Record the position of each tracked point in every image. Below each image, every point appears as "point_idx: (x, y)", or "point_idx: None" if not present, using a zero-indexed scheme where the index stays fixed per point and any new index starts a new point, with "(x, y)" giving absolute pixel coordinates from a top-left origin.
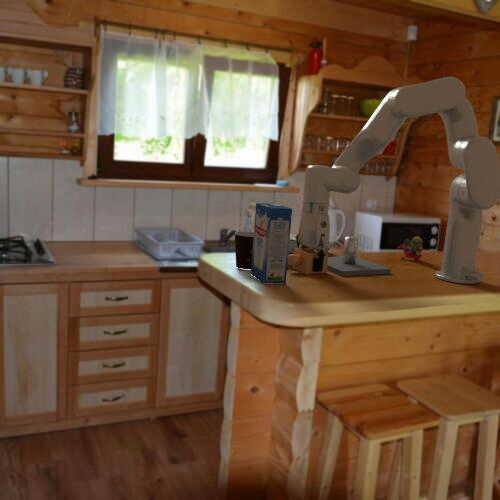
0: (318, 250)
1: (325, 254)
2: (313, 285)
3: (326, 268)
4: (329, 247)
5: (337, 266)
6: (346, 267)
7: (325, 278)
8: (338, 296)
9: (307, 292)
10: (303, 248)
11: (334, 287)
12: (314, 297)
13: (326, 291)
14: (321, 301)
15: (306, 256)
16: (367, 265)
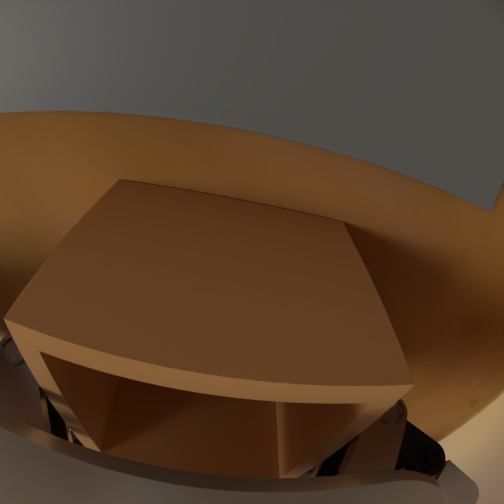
0: (166, 379)
1: (425, 441)
2: (411, 403)
3: (352, 249)
4: (474, 492)
5: (373, 72)
6: (445, 29)
7: (410, 324)
8: (491, 389)
9: (421, 428)
10: (73, 424)
11: (476, 364)
12: (445, 425)
13: (461, 396)
14: (463, 422)
15: (275, 458)
16: None
